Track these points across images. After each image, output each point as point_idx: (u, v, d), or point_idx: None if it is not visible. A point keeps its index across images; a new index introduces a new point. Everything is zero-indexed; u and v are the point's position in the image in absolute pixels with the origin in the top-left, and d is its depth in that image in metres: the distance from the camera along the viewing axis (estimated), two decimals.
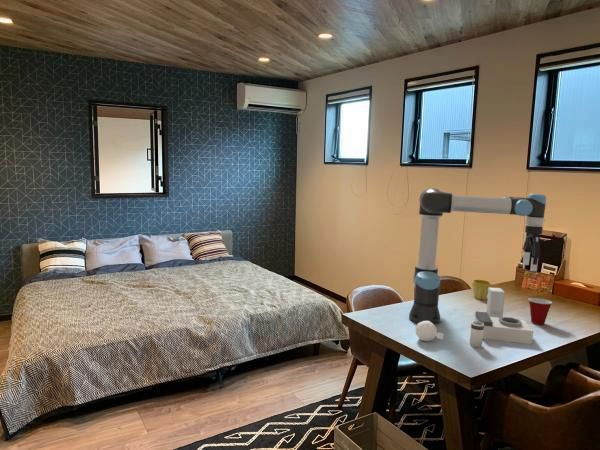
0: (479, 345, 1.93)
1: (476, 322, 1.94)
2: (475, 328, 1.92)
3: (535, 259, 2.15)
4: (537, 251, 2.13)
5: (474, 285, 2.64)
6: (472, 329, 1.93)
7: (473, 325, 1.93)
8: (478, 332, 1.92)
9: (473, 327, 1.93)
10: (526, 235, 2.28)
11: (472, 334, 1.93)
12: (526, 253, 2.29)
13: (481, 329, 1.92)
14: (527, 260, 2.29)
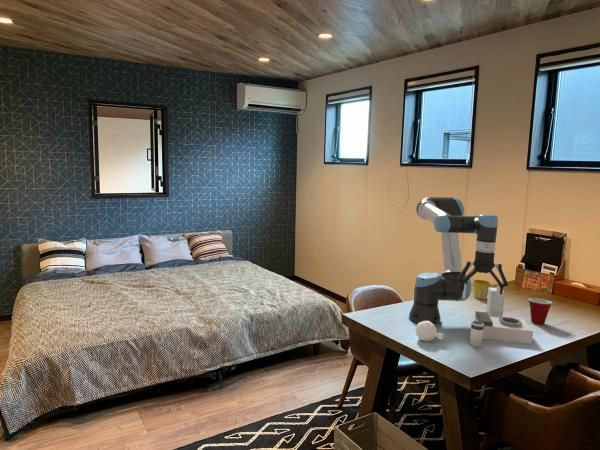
0: (479, 345, 1.93)
1: (476, 322, 1.94)
2: (475, 328, 1.92)
3: (461, 284, 1.93)
4: (460, 274, 1.92)
5: (474, 285, 2.64)
6: (472, 329, 1.93)
7: (473, 325, 1.93)
8: (478, 332, 1.92)
9: (473, 327, 1.93)
10: None
11: (472, 334, 1.93)
12: (497, 287, 1.90)
13: (481, 329, 1.92)
14: (497, 295, 1.90)
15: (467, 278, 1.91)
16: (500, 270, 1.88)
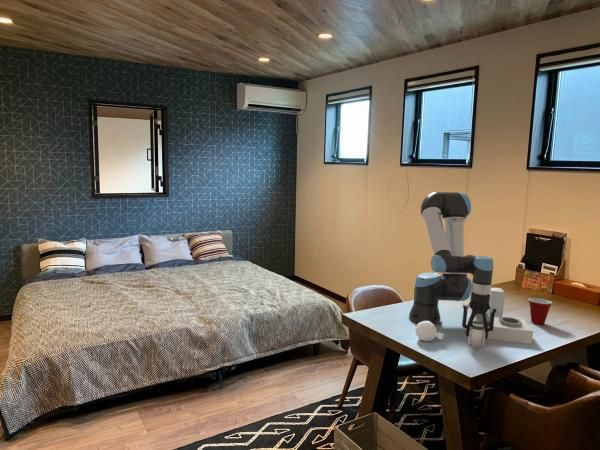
0: (479, 345, 1.93)
1: (476, 322, 1.94)
2: (475, 328, 1.92)
3: (466, 330, 1.95)
4: (463, 320, 1.95)
5: None
6: (472, 329, 1.93)
7: (473, 325, 1.93)
8: (478, 332, 1.92)
9: (473, 327, 1.93)
10: None
11: (472, 334, 1.93)
12: None
13: (481, 329, 1.92)
14: (482, 339, 1.94)
15: (470, 323, 1.93)
16: (492, 314, 1.91)
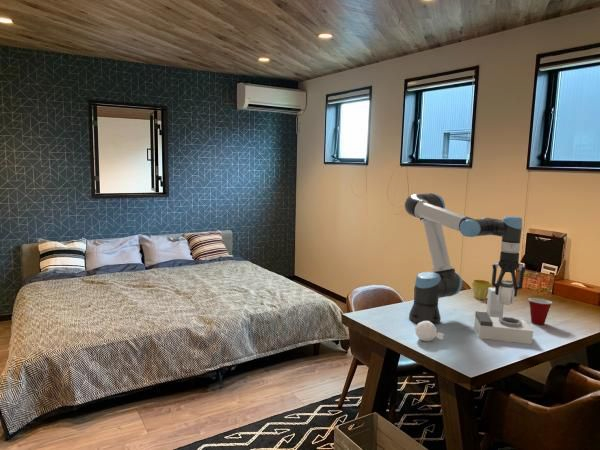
0: (508, 302, 1.99)
1: (505, 280, 2.00)
2: (504, 286, 1.98)
3: (495, 288, 2.02)
4: (492, 279, 2.01)
5: (474, 285, 2.64)
6: (501, 287, 2.00)
7: (502, 283, 1.99)
8: (507, 290, 1.98)
9: (502, 285, 1.99)
10: None
11: (501, 292, 2.00)
12: (512, 290, 2.00)
13: (510, 287, 1.98)
14: None
15: (499, 281, 2.00)
16: (521, 272, 1.97)
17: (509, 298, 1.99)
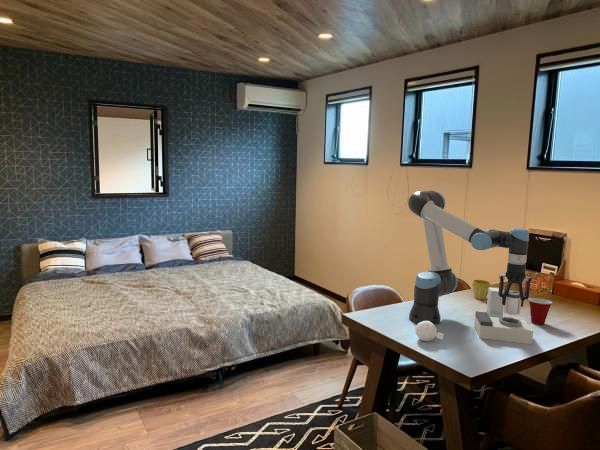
0: (515, 313, 2.03)
1: (512, 291, 2.04)
2: (511, 296, 2.02)
3: (502, 299, 2.06)
4: (499, 290, 2.05)
5: (474, 285, 2.64)
6: (508, 298, 2.04)
7: (509, 294, 2.03)
8: (514, 300, 2.02)
9: (509, 296, 2.03)
10: None
11: (508, 302, 2.04)
12: None
13: (517, 297, 2.02)
14: (518, 308, 2.04)
15: (506, 292, 2.04)
16: (528, 283, 2.01)
17: (516, 308, 2.03)
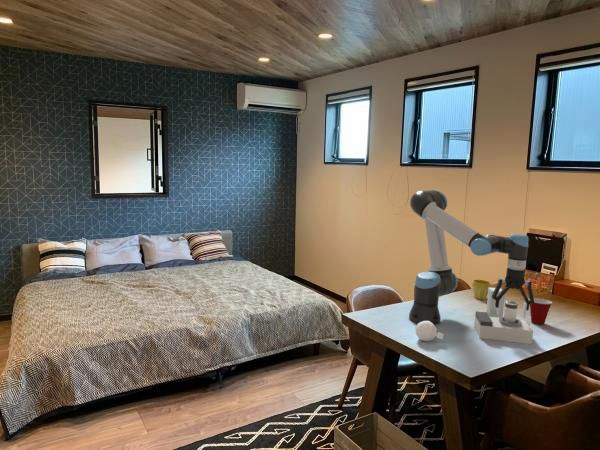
0: None
1: (510, 301, 2.05)
2: (509, 307, 2.03)
3: None
4: (494, 292, 2.06)
5: (474, 285, 2.64)
6: (506, 308, 2.05)
7: (507, 304, 2.04)
8: (512, 311, 2.03)
9: (507, 306, 2.04)
10: None
11: (506, 313, 2.05)
12: (524, 304, 2.04)
13: (515, 308, 2.03)
14: (523, 311, 2.04)
15: (501, 295, 2.04)
16: (529, 287, 2.01)
17: (514, 319, 2.04)
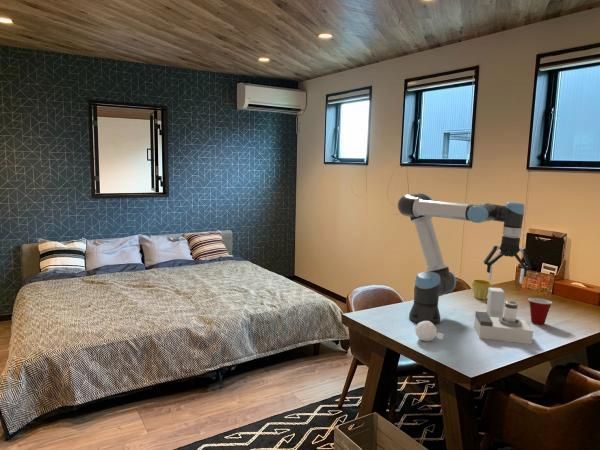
0: None
1: (510, 301, 2.05)
2: (509, 307, 2.03)
3: (487, 266, 2.09)
4: (487, 257, 2.08)
5: (474, 285, 2.64)
6: (506, 308, 2.05)
7: (507, 304, 2.04)
8: (512, 311, 2.03)
9: (507, 306, 2.04)
10: None
11: (506, 313, 2.05)
12: (521, 270, 2.06)
13: (515, 308, 2.03)
14: (520, 277, 2.06)
15: (493, 261, 2.07)
16: (525, 254, 2.03)
17: (514, 319, 2.04)
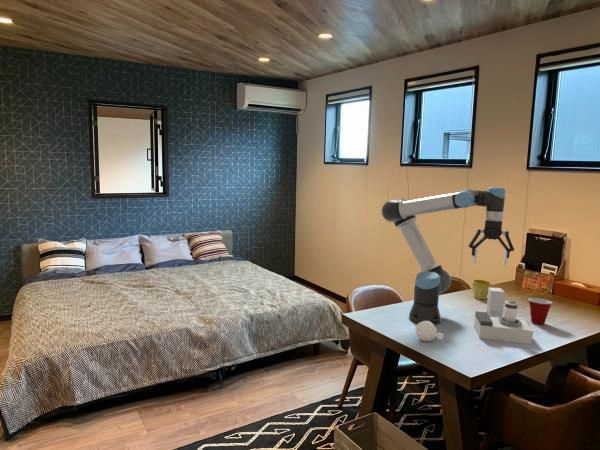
0: None
1: (510, 301, 2.05)
2: (509, 307, 2.03)
3: (472, 250, 2.17)
4: (471, 241, 2.16)
5: (474, 285, 2.64)
6: (506, 308, 2.05)
7: (507, 304, 2.04)
8: (512, 311, 2.03)
9: (507, 306, 2.04)
10: None
11: (506, 313, 2.05)
12: (504, 252, 2.15)
13: (515, 308, 2.03)
14: (504, 259, 2.14)
15: (478, 244, 2.15)
16: (507, 236, 2.12)
17: (514, 319, 2.04)
